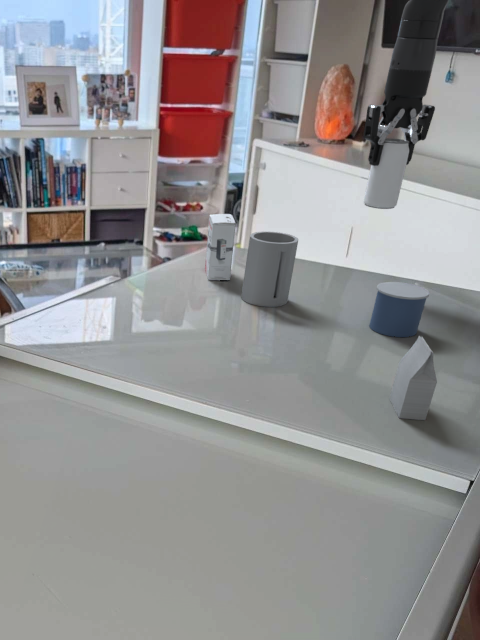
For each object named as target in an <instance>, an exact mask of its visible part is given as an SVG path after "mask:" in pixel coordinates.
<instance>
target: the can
mask: <svg viewBox="0 0 480 640" xmlns="http://www.w3.org/2000/svg"><path fill="white" fill-rule="evenodd" d="M408 143H409V141H407V140H405V139H401V138H400V139H399V138H391V137H390V138H388V137H386V139H385V141H384V142H383V144H381V145H383V149H382V153H381V158H380V162H379V165H378V166H373V165H370V169H369V174H368V179H367V183H366V188H365V193H364V197H363V204H364V206H366V207H368V208H372V209H379V210H391V209H394V208H395V207H397V205H398V201H399V197H400V194H401V193H400V192H401V190H402V189H401V188H402V184H403V181H404V176H405V171H406V167H407V165H406V163H407V159H408V155H409V146H408Z"/></svg>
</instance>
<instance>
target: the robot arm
mask: <svg viewBox="0 0 480 640" xmlns="http://www.w3.org/2000/svg"><path fill="white" fill-rule="evenodd" d="M449 2H450V0H408V1H407V2H406V3H405V5H404V7H403V10H402V14H401V18H400V23H399V27H398V32H397V37H396V41H395V44H394V47H393V51H392V54H391V58H390V62H389V67H388V71H387V77H386V82H385V86H384V100H383V101H382V103H381V104H377V105H376V104H369V105H368V106H367V107H366V115H365V122H364V123H365V124H364V131H363V139H364V140H366V141H368V142H370V149H369V154H368V158H367V159H368V164H369V165H370V166H371V165H373V166H378V165H379V162H380V158H381V153H382V149H383V145H381V144H383V142H384V141H385V139H386V138H388V136H389V135H390V134H392V132H393V131H394V130H395V129H400V131H401V132H402V133H403V138H404V139H403V140H407V141H409V143H408V146H409V155H408V159H407V163H406V166H408V165H409V164H410V162H411V161H412V158H413V154H414V150H415V146H416V144H417V143H419V142H420V141H425V140H426V139H427V136H428V133H429V130H430V127H431V123H432V120H433V117H434V113H435V111H436V107H435V105H430V104H423V99H424V97H425V96H426V95H427V92H428V88H429V84H430V80H431V76H432V71H433V67H434V64H435V59H436V54H437V49H438V41H439V36H440V32H441V27H442V23H443V19H444V15H445V10H446V8H447V5H448V4H449ZM417 117H418V118H417Z"/></svg>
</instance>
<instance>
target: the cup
mask: <svg viewBox="0 0 480 640" xmlns="http://www.w3.org/2000/svg"><path fill="white" fill-rule="evenodd" d="M298 244H299V238H298V237H297V236H295V235H292V234H288V233H283V232H278V231H255V232H252V233H251V234H250V235H249V240H248V245H247V246H248V247H247V254H246V261H245V268H244V274H243V275H244V276H243V282H242V289H241V295H240V298H241V299H242V301H244V302H245V303H247V304H250V305H253V306H259V307H267V308H269V307H270V308H271V307H272V308H275V307H281V306H284V305H286V304H287V303H288V300H289V294H290V288H291V283H292V278H293V273H294V267H295V261H296V255H297V251H298V250H297V249H298ZM274 296H275V297H274Z"/></svg>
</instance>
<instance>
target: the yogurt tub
mask: <svg viewBox="0 0 480 640" xmlns="http://www.w3.org/2000/svg"><path fill="white" fill-rule="evenodd" d="M376 290H377V292H376V297H375V301H374V305H373V308H372V313H371V317H370V321H369V325H368V326H369V329H370V330H372V331H373V332H375V333H378V334H379V335H383V336H387V337H388V336H389V337H394V336H395V337H394V338H410V337H415V336H416V335H417V333H418V330H419V326H420V322H421V318H422V316H423V312H424V308H425V304H426V301H427V298H429V296H430V291H429V290H428V289H426V287H423V286H421V285H417V284H413V283H409V282H403V281H384V282H379V283H378V284H377V286H376ZM409 336H410V337H409Z"/></svg>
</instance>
